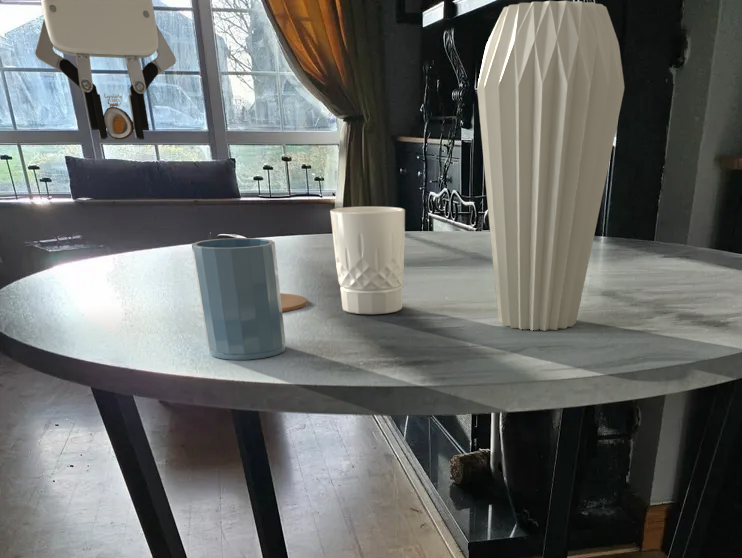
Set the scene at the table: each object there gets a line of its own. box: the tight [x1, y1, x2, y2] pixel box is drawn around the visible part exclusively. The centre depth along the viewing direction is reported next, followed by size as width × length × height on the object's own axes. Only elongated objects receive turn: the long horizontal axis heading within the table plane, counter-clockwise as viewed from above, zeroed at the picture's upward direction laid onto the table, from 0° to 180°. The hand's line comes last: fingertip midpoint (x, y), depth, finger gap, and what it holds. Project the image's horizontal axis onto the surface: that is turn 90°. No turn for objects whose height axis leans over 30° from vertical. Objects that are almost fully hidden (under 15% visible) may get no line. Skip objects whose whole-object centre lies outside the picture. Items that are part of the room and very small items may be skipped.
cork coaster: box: [280, 292, 308, 313], centre depth 89 cm, size 10×10×1 cm
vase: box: [476, 0, 625, 332], centre depth 74 cm, size 13×13×26 cm
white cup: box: [329, 206, 406, 315], centre depth 85 cm, size 8×8×10 cm
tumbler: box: [191, 237, 286, 361], centre depth 69 cm, size 7×7×9 cm
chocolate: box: [103, 93, 134, 140], centre depth 80 cm, size 3×2×4 cm
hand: (121, 137), depth 81 cm, fingers closed on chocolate, 3 cm apart
